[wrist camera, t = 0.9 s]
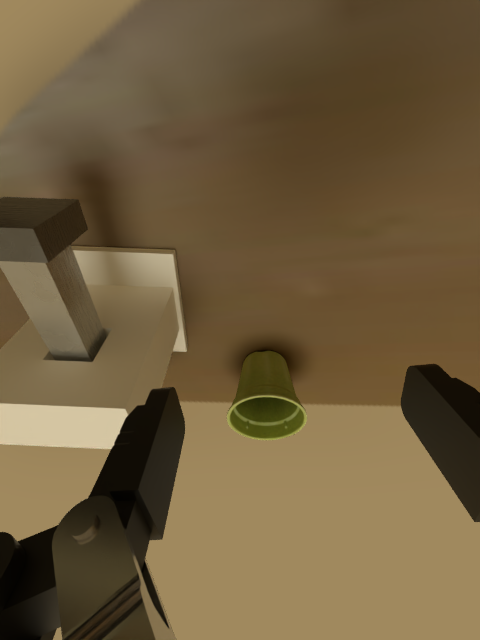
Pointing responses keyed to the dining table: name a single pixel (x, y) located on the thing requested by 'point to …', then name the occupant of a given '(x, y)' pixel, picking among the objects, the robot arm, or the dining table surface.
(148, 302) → the bracket
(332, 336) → the dining table surface
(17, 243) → the shaft
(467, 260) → the dining table surface
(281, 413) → the plant pot
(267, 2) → the dining table surface
